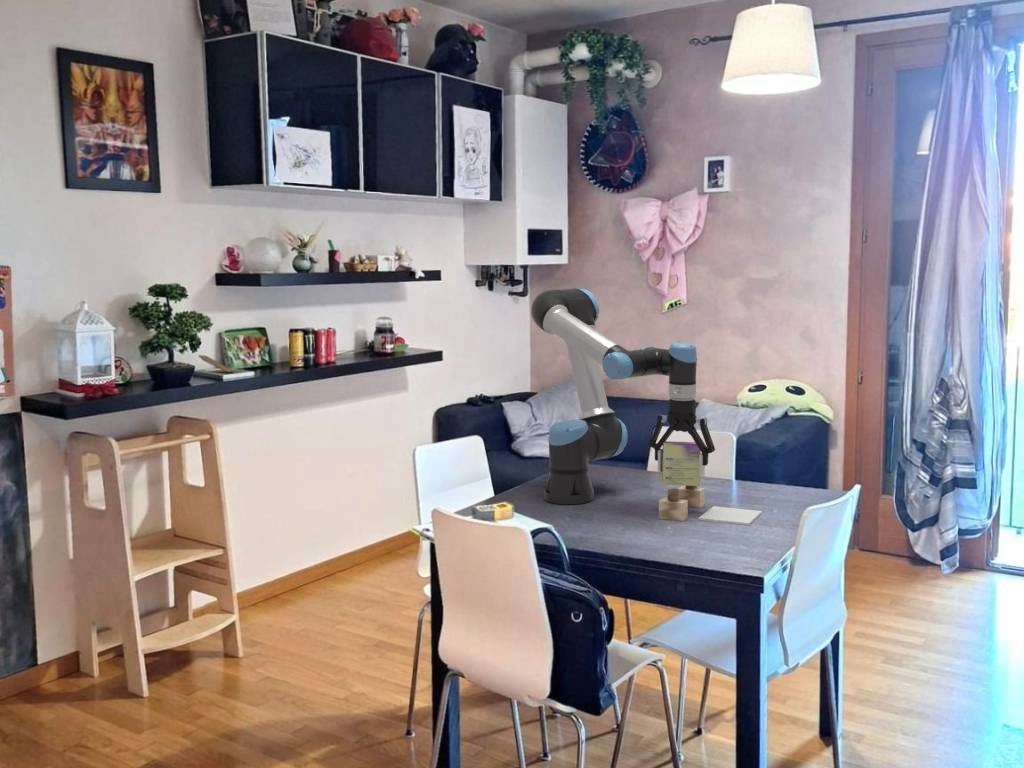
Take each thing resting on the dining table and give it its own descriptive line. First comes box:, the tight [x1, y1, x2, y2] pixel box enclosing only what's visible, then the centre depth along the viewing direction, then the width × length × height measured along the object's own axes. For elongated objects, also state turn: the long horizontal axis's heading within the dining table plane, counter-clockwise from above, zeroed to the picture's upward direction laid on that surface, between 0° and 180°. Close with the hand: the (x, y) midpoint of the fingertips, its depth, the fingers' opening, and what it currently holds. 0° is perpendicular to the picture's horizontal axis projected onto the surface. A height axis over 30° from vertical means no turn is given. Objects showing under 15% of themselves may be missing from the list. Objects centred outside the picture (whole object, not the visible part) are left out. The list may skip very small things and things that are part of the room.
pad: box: [698, 505, 763, 526], centre depth 276 cm, size 14×14×1 cm
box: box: [661, 440, 702, 487], centre depth 281 cm, size 10×6×12 cm, turn 84°
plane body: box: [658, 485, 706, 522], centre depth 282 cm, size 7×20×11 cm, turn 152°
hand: (680, 474), depth 282 cm, fingers closed on box, 11 cm apart
